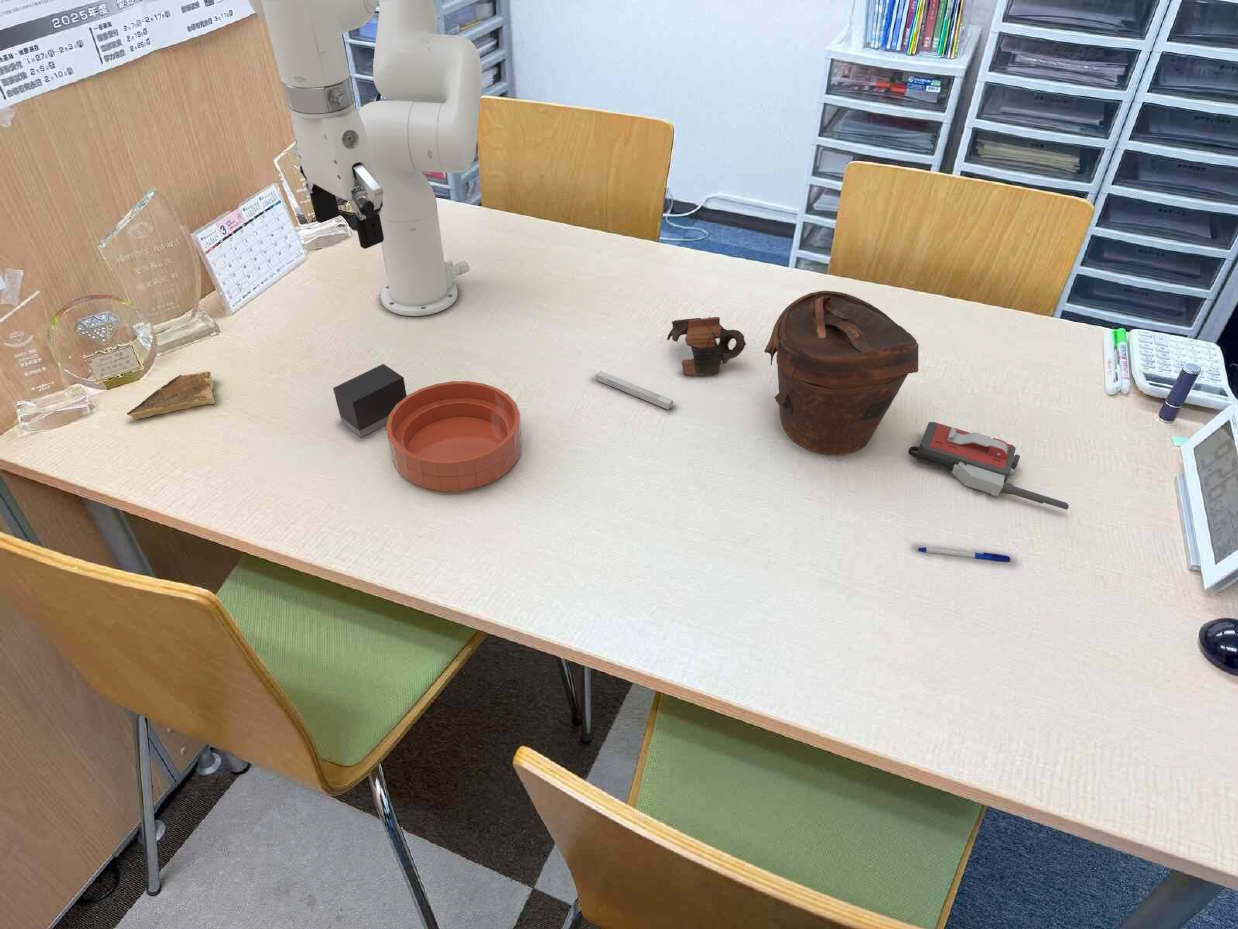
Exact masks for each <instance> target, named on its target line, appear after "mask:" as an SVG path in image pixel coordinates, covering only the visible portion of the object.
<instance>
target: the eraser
mask: <svg viewBox="0 0 1238 929" xmlns="http://www.w3.org/2000/svg"><path fill="white" fill-rule="evenodd" d="M332 390H333V394H334V396H335V401H336V406H337V409H338V410H337V411H338V413H339V417H340V421H341V424H342V425H344V427H346V428H347V429H349V430H350V431H351V432H353V433H354V434H355V435H357V436H358V438H361V439H362V438H364V437H366V436H368V435H369V434H371V433H373V432H376V431H377V430H379V429H380V428H381V429H382V428H383V427H386V424H387V421H388V417H389V414H390V413H391V411H392V410H393V409H394V407H395V406H396V405H397V404H398V403H399V402H400V401H401V400H403V399H404V398H405V397H406V396H408V394H407V390H406V384H405V378H404V376H403V375H401V374H399V373H398V372H397V371H395V370H394V369H392V368H391V367H389V366H388V365H386V364H385V363H382V364H380V365H378V366H376V367H374V368H371V369H370V370H367V371H365V372H363V373H361V374H359V375H357V376H355V377H352V378H351V379H348V380H346V381H344V382H342V383H341V384H338V385H336V386H334V387H333V388H332Z"/></svg>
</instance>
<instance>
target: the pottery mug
mask: <svg viewBox="0 0 1238 929" xmlns="http://www.w3.org/2000/svg"><path fill="white" fill-rule="evenodd" d="M720 319H721V318H720V317H719V316H711V317H705V318H704V317H703V318H701V317H693V318H684V319H675V320H672V321H671V324H672V328H671V330H670V331H669V333H668V335H667V338H666V340H667V341H670V340H672V341H674V342H676V343H677V342H678V341H679V339H680V337H681V336H684V335H685V337H684V341H685V344H686V345H687V346H689V347H690V349H691V352H692V356H693V358H690V359H682V360H681V366H682V373H683V375H687V376H689V375H691V376H692V375H711V374H712V375H713V374H717V373H720V369H721V365H722V363H723V364H727V363H728V361H730V360H731V359H735V358H737V357H739V355H741V353H742V352H743V351H744V350H745V346H746V345H747V343H746V341H745V335H744V334H743V333H742V332H741V331H740V330H737V329H726V328H724V327H723V325H721V322H720V321H721V320H720ZM718 339H719V342H717V340H718ZM732 339H734V340H735V345H734V347H732V349H730V347H729V344H730V342H731V341H732Z"/></svg>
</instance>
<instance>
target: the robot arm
mask: <svg viewBox="0 0 1238 929" xmlns="http://www.w3.org/2000/svg"><path fill="white" fill-rule="evenodd" d="M247 1H248V3H249V5H250V7H251V8H252V10H253V12H255V14H256V15H257V16H259V18H261V19H262V20H263V21H265V22H266V26H267V28H268V30H267V31H268V34H269V37H270V41H271V45H272V50H273V53H274V58H275V62H276V65H277V69H278V73H279V77H280V82H281V86H282V89H283V93H284V94H283V95H284V98H285V102H286V105H287V110H288V112H289V113H290V115H291V116H290V118H291V124H292V130H293V134H294V140H295V145H296V147H295V148H293V149H292V151H293V155H294V156H295V159H296V161H297V163H298V165H299V172H300V174H301V175H302V176H303V178H304V180H305V183H304V184H305V188H306V190H307V191H308V192H309V197H310V201H311V205H312V209H313V213H314V218H315V221H316V222H318V223H319V224H323V223H325V222H327V221H330V220H333V219H336V218H338V217H339V216H340V210H339V205H338V201H337V200H338V199H337V198H340V199H342V200H344V201H348V203H349V204H350V206H351V208H352V210H353V212H354V213H355V215H356V217H355V218H354V222H355V228H356V232H357V233H356V234H357V236H358V241H359V246H360V248H362V249H363V250H366V249H368V248H371V247H374V246H376V245H378V244H380V246H381V251H382V258H383V262H384V267H385V268H384V269H385V274H386V280H387V284H386V285H385V286H384V287H383V288H382V289H381V291H380V299H381V300H380V301H381V303H382V305H383V307H384V308H385V309H387V310H388V311H389V312H391V313H394V314H397V315H400V316H407V317H422V316H429V315H433V314H437V313H440V312H443V311H444V310H446V309H448V308H449V307H451V306H452V305H454V303H455V301H457V299H458V286H457V285H456V283H455V282H453V281H454V280H456V277H458V276H460V275H463V274H465V273H468V272H469V271H470V266H469V263H468V262H467V261H466V260H462V261H460V262H457V263H455V264H454V262H453V261H452V260H451V259H448V260H446V261H445V257H444V256H445V255H444V249H443V242H442V234H441V227H440V219H439V218H440V217H439V211H438V203H437V202H438V201H437V197H436V193H435V191H434V189H433V186H432V185H431V183H430V181H429V180H428V178H427V177H426V176H425V174H424V173H427V172H428V173H444V174H445V173H446V174H459V173H464V172H466V171H468V170H470V168H471V167H472V166H473V163H474V161H475V158H476V151H477V144H478V143H477V142H478V133H479V132H478V131H479V123H480V122H479V121H480V112H481V100H482V89H483V68H482V61H481V60H482V59H481V57H480V56H481V55H480V53H479V51H478V49H477V47H476V45H475V44H474V43H473V41H471V40H470V39H469V38H466V37H464V36H462V35H455V34H443V33H442V34H441V33H437V27H438V10H437V8H436V6H435V4H434V2H433V0H247ZM377 7H378V20H377V28H376V37H375V45H374V52H373V53H374V54H373V62H372V63H373V65H372V77H373V78H372V79H373V84H374V86H375V89H376V91H377V92H378V93H379V95H381V96H382V97H383V98H385V99H386V100H377V101H376V100H375V101H371V102H368V103H366V104H364V105H362V106H361V107H360V108H359V109H357V107H356V104H357V103H356V98H355V94H354V87H353V83H352V78H351V74H350V73H351V72H350V69H349V63H348V62H349V61H348V58H347V57H348V56H347V53H346V48H345V43H344V38H343V34H346V33H348V32H350V31H354V30H357V29H359V28H362V27H363V26H365V25H366V24H367V23H369V21H371V19H372V18H373V16H374V15H375V13H376V10H377ZM423 172H424V173H423ZM357 188H360V190H356V191H354V190H355V189H357ZM353 191H354V192H353ZM361 198H365V200H366V201H365V202H364V204H363V205H361V203H360V201H359V199H361Z"/></svg>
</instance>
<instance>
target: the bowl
mask: <svg viewBox="0 0 1238 929" xmlns="http://www.w3.org/2000/svg"><path fill="white" fill-rule="evenodd" d="M521 423H522V422H521V413H520V410H519V408H518V405H517V403H516V401H514V399H513V398H512V397H511V396H510V395H509V394H508V393H506V392H504V391H503V390H501V389H500V388H498V387H495V386H492V385H489V384H487V383H484V382H483V383H482V382H476V381H475V382H474V381H470V380H454V381H453V380H452V381H446V382H440V383H439V382H438V383H435V384H432V385H428V386H425V387H422V388H419V389H417V390H415V391H414V392H411V393H410V394H407V396H406V397H405V398H404V399H403V400H401V401H400V402H399V403H398V404H397V405H396V406H395V407H394V409H393V410H392V411H391V413H390V414H389V417H388V421H387V424H386V425H385V427H386V434H387V439H388V445H389V449H390V454H391V458H392V463H393V465H394V467H395V468H396V470H397V471H398V473H399V474H400V475H401V476H402V477H403V478H405V479H406V480H408V481H409V482H410V483H412V484H414V485H417V486H419V487H422V488H424V489H429V490H435V491H441V492H451V491H452V492H453V491H456V492H459V491H465V490H470V489H474V488H479V487H481V486H484V485H486V484H490V483H492V482H494V481H496V480H497V479H499V478H500V477H502V476H504V475H505V474H507V473H508V472H509V470H510V469H512V468H513V467H514V465H515V464H516V463H517V461H518V459H519V457H520V455H521V453H522V445H523V438H522V436H523V435H522V424H521Z"/></svg>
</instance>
